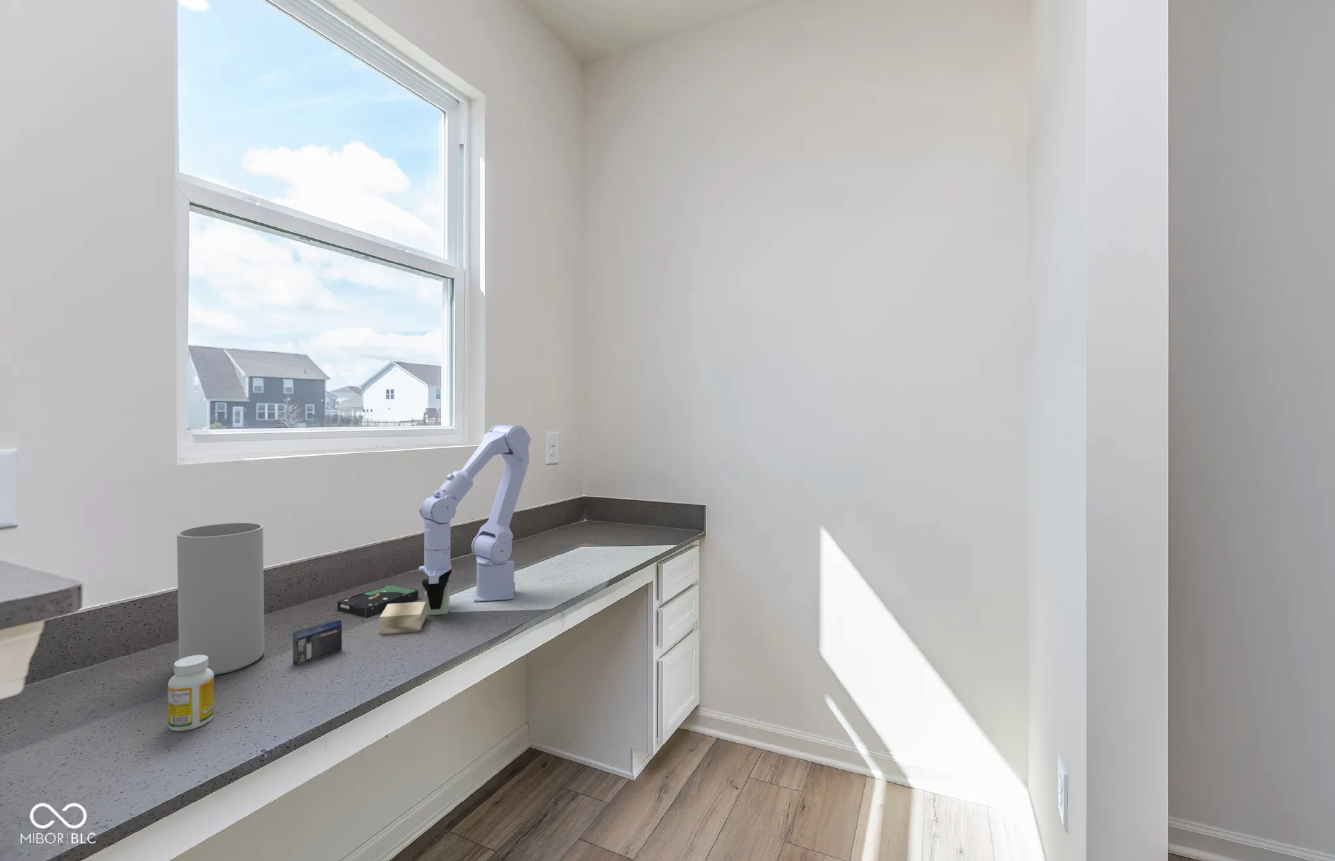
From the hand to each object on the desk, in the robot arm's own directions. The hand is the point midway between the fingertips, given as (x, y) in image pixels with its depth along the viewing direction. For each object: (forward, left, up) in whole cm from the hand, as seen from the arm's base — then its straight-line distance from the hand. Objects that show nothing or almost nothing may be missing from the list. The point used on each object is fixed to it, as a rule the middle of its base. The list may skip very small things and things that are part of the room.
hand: (437, 604), depth 135 cm
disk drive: (+14, -8, -2) cm, 16 cm away
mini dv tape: (+19, +21, -2) cm, 28 cm away
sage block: (0, 0, -1) cm, 1 cm away
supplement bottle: (+30, +42, -2) cm, 52 cm away
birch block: (+6, +8, -2) cm, 10 cm away
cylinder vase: (+35, +20, -2) cm, 40 cm away
